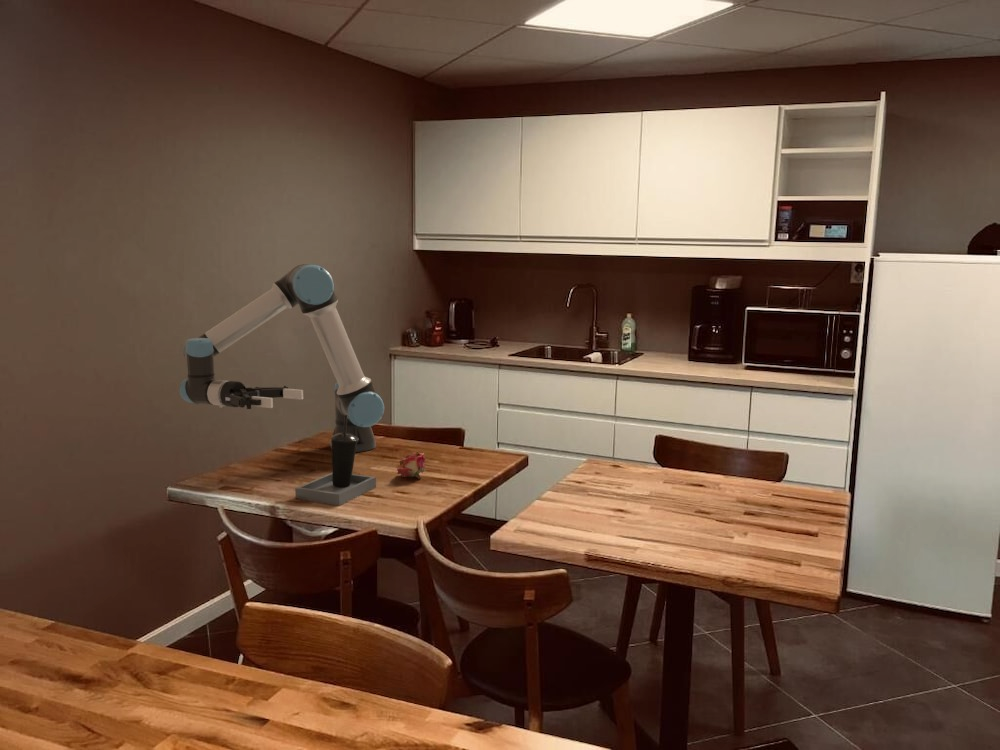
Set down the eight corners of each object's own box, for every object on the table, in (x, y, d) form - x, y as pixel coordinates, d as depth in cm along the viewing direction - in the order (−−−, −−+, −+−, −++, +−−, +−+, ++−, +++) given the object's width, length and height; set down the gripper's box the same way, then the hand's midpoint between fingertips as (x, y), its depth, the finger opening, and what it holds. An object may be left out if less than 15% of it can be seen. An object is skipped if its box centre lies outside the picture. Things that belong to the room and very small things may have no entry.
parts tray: (334, 481, 230) (334, 471, 230) (376, 487, 225) (375, 477, 224) (295, 498, 214) (295, 488, 213) (339, 505, 209) (339, 494, 208)
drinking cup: (349, 490, 219) (353, 419, 216) (323, 486, 220) (327, 416, 217) (359, 483, 226) (364, 414, 223) (334, 479, 227) (338, 410, 224)
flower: (438, 471, 236) (427, 447, 238) (422, 472, 227) (411, 448, 230) (413, 486, 239) (402, 462, 241) (397, 488, 231) (386, 464, 233)
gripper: (257, 399, 244) (314, 404, 236) (197, 414, 221) (258, 420, 213) (255, 374, 243) (313, 379, 235) (195, 387, 220) (257, 392, 212)
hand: (287, 398), depth 224 cm, fingers open, 13 cm apart
